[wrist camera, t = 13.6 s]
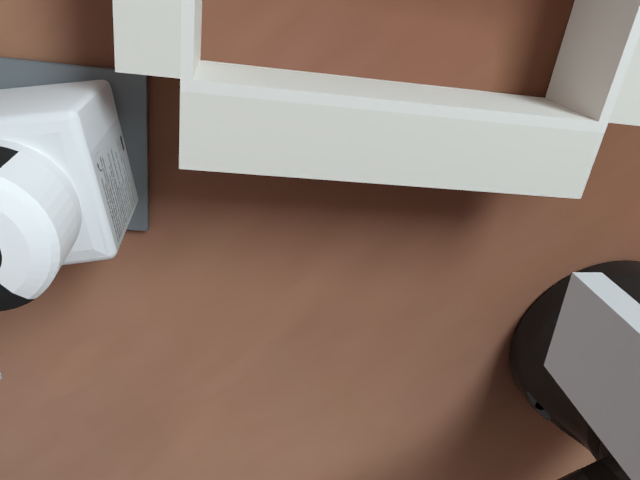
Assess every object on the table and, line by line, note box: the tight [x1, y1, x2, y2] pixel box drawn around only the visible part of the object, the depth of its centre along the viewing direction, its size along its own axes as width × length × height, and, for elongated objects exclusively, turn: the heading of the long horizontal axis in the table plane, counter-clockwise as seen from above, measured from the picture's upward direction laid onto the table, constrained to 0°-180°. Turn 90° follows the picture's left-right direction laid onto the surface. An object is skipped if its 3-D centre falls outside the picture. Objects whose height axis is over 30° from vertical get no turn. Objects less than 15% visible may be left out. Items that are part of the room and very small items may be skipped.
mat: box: [0, 57, 149, 231], centre depth 33 cm, size 10×10×1 cm
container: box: [0, 80, 138, 311], centre depth 27 cm, size 8×8×13 cm
